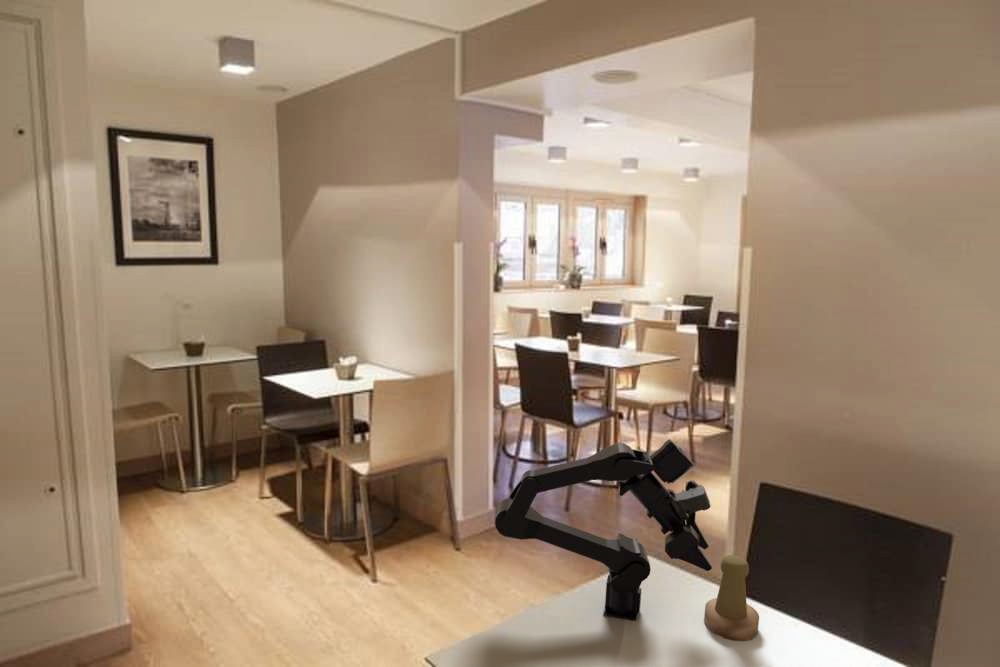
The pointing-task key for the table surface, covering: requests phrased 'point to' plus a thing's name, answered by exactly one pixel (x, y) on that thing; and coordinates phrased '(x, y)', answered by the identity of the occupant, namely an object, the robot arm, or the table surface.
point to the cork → (732, 588)
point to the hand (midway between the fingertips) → (708, 558)
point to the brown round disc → (731, 623)
